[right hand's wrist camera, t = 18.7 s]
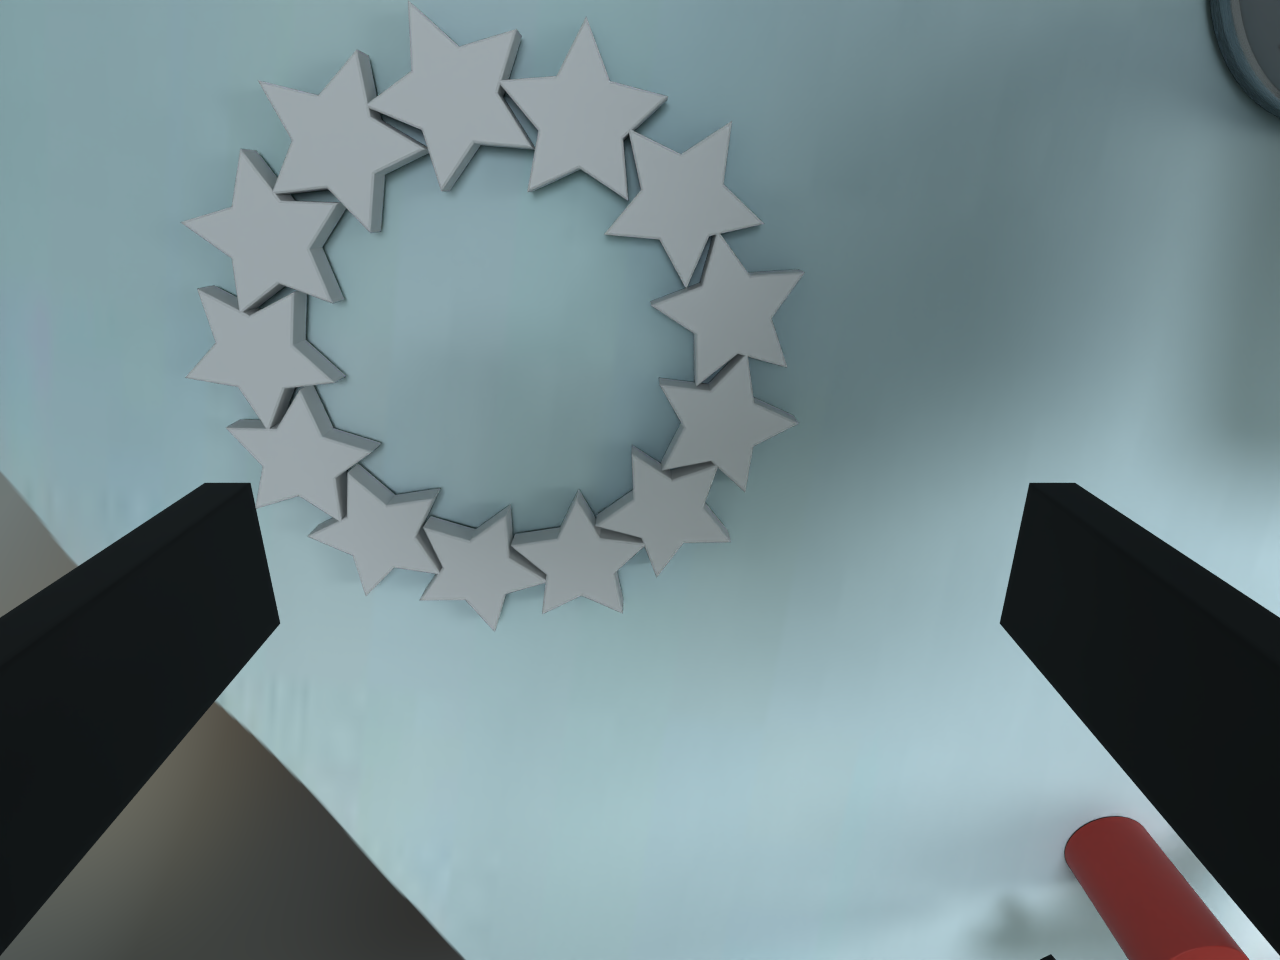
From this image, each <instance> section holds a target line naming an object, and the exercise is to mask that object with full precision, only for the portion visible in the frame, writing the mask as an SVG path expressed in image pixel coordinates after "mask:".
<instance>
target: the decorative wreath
mask: <svg viewBox="0 0 1280 960" xmlns="http://www.w3.org/2000/svg"><path fill="white" fill-rule="evenodd" d="M408 11H409V31H410V52H411V71H410V72H409V73H408V74H406V75H405V76H404V77H402V78H401V79H400V80H398V81H397V82H396V83H394V84H393V85H392V86H390V87H389V88H388V89H386V90H385V91H384V92H382V93H381V94H380V95H378V96H377V95H376V90H375V84H374V79H373V74H372V69H371V64H370V59H369V55H367V54H365V53H363V52H361V51H359V50H356V51H355V52H354V53H353V54H352V56H351V57H350V58H349V59H348V60H347V62H346V63H345V64H344V65H343V66H342V67H341V69H340V70H339V71H338V72H337V73H336V75H335V76H334V77H333V78H332V79H331V81H330V82H329V83H328V84H327V85H326V87H325V88H324V89H323V90H322V91H321V93H320V94H319V95H316V94H311V93H307V92H303V91H299V90H295V89H291V88H287V87H283V86H279V85H275V84H271V83H267V82H263V81H259V80H258V82H259V83H260V85H261V87H262V89H263V90H264V92H265V94H266V96H267V97H268V99H269V101H270V103H271V104H272V106H273V108H274V110H275V112H276V113H277V115H278V117H279V119H280V120H281V122H282V124H283V126H284V127H285V129H286V131H287V133H288V134H289V136H290V138H291V140H292V142H291V144H290V147H289V149H288V152H287V155H286V157H285V160H284V163H283V165H282V168H281V170H280V173H279V176H278V178H277V176H276V175H275V174H274V173H273V171H272V170H271V169H270V167H269V166H268V165H267V163H266V162H265V161H264V159H263V158H262V157H261V156H260V154H259V153H258V152H257V151H256V150H248V149H240V155H239V161H238V168H237V175H236V181H235V188H234V195H233V201H232V207H230V208H226V209H223V210H220V211H216V212H213V213H210V214H206V215H203V216H200V217H196V218H193V219H190V220H186V221H183V222H181V223H182V224H184V225H185V226H186V227H188V228H189V229H191V230H192V231H194V232H195V233H196V234H198V235H199V236H201V237H202V238H203V239H205V240H206V241H208V242H209V243H211V244H212V245H213V246H215V247H216V248H218V249H219V250H220V251H222V252H223V253H225V254H226V255H228V256H229V257H230V258H232V264H233V271H234V278H235V284H236V291H237V297H236V296H234V295H232V294H230V293H228V292H226V291H224V290H222V289H220V288H219V287H217V286H215V285H213V286H208V287H203V288H198V289H197V290H198V293H199V296H200V298H201V301H202V304H203V307H204V310H205V313H206V316H207V319H208V321H209V324H210V327H211V330H212V333H213V336H214V339H215V342H216V343H215V344H214V345H213V346H212V348H211V349H210V350H209V351H208V352H207V353H206V354H205V356H204V357H203V358H202V359H201V360H200V361H199V362H198V364H197V365H196V366H195V367H194V368H193V369H192V370H191V372H190V373H189V374H188V375H187V376H186V377H185V378H189V379H195V380H201V381H207V382H213V383H218V384H224V385H230V386H236V387H238V388H239V389H240V390H241V392H242V393H243V395H244V396H245V398H246V399H247V401H248V402H249V404H250V405H251V407H252V408H253V410H254V411H255V413H256V414H257V416H258V417H259V419H260V420H247V419H240V420H238V421H237V422H235V423H233V424H231V425H229V426H228V427H226V428H227V429H228V431H229V432H230V433H231V434H232V435H233V436H234V437H235V438H236V439H237V440H238V441H239V442H240V443H241V444H242V445H243V446H244V447H245V448H246V449H247V450H248V451H249V452H250V454H251V455H252V456H253V457H254V458H255V459H256V460H257V461H258V462H259V463H260V464H261V465H262V466H263V468H262V473H261V479H260V485H259V490H258V496H257V501H256V509H257V508H260V507H264V506H267V505H270V504H274V503H277V502H280V501H283V500H287V499H290V498H293V497H297V496H300V497H302V498H303V499H305V500H306V501H308V502H309V503H311V504H313V505H314V506H316V507H317V508H319V509H321V510H322V511H324V512H325V513H327V514H329V515H330V516H332V517H333V518H332V519H329V520H327V521H325V522H323V523H321V524H319V525H318V526H317V527H316V528H315V529H314V530H313V531H312V532H311V533H310V534H309V535H308V537H310V538H312V539H315V540H317V541H320V542H322V543H324V544H327V545H329V546H331V547H334V548H336V549H338V550H341V551H343V552H345V553H348V554H350V555H353V558H354V561H355V564H356V567H357V570H358V573H359V576H360V580H361V583H362V586H363V589H364V592H365V595H366V596H367V595H368V594H369V593H370V592H371V591H372V590H373V589H374V588H375V587H376V586H377V585H378V584H379V583H380V582H381V581H382V580H383V579H384V578H385V577H386V576H387V575H388V574H389V573H390V571H391V570H392V569H393V568H401V569H407V570H414V571H420V572H427V573H434V574H436V575H435V576H434V577H433V579H432V580H431V582H430V583H429V584H428V586H427V587H426V589H425V591H424V593H423V595H422V596H421V598H420V600H466V601H467V602H468V603H469V604H470V606H471V607H472V608H473V609H474V610H475V611H476V612H477V613H478V614H479V615H480V616H481V617H482V619H483V620H484V621H485V622H486V623H487V624H488V625H489V626H490V627H491V628H492V629H493V630H494V631H495V630H496V627H497V624H498V621H499V618H500V614H501V611H502V607H503V604H504V600H505V597H506V594H508V593H511V592H515V591H518V590H522V589H525V588H529V587H533V586H536V585H540V584H543V583H546V584H545V592H544V601H543V609H542V614H544V613H546V612H548V611H550V610H552V609H554V608H556V607H559V606H561V605H563V604H565V603H567V602H569V601H571V600H573V599H575V598H577V597H579V596H584V597H586V598H588V599H591V600H593V601H595V602H597V603H600V604H602V605H604V606H607V607H609V608H611V609H614V610H616V611H618V612H621V613H623V596H622V591H621V587H620V582H619V578H618V573H617V571H618V570H619V569H620V568H621V567H622V566H623V565H624V564H625V563H626V562H628V561H629V560H630V559H631V558H632V557H633V556H634V555H635V554H636V553H637V552H639V551H640V550H641V549H642V548H643V547H644V546H645V548H646V551H647V554H648V556H649V559H650V561H651V564H652V567H653V569H654V572H655V575H656V577H658V575H659V574H660V573H661V571H662V570H663V569H664V568H665V566H666V565H667V564H668V562H669V561H670V560H671V558H672V557H673V556H674V555H675V553H676V552H677V551H678V549H679V548H680V547H681V546H682V544H683V543H707V542H731V540H730V536H729V532H728V530H727V529H726V527H725V526H724V525H723V524H722V522H721V521H720V520H719V519H718V518H717V516H716V515H715V514H714V513H713V511H712V510H711V509H710V508H709V506H708V505H707V504H706V503H705V501H706V498H707V496H708V493H709V490H710V487H711V485H712V482H713V479H714V476H715V474H716V471H717V468H719V469H720V470H721V471H722V472H723V473H725V474H726V475H727V476H728V477H729V478H730V479H731V480H732V481H733V482H734V483H735V484H737V485H738V486H739V487H740V488H741V489H742V490H743V491H744V492H745V491H746V485H747V480H748V474H749V468H750V463H751V457H752V451H753V446H755V445H757V444H759V443H761V442H763V441H765V440H767V439H769V438H771V437H773V436H775V435H777V434H779V433H781V432H783V431H785V430H787V429H789V428H791V427H793V426H795V425H797V424H799V422H798V421H797V419H796V418H795V417H794V415H792V414H790V413H788V412H785V411H783V410H781V409H779V408H776V407H774V406H772V405H770V404H768V403H765V402H763V401H761V400H759V399H756V398H754V397H753V391H752V383H751V376H750V369H749V361H748V357H751V358H755V359H758V360H762V361H765V362H769V363H772V364H776V365H780V366H783V367H787V365H786V362H785V359H784V355H783V352H782V349H781V346H780V343H779V340H778V337H777V334H776V331H775V327H774V324H773V321H772V317H773V316H774V315H775V313H776V312H777V310H778V309H779V308H780V306H781V305H782V303H783V302H784V301H785V299H786V298H787V296H788V295H789V294H790V292H791V291H792V290H793V288H794V287H795V285H796V284H797V283H798V281H799V280H800V278H801V277H802V276H803V274H804V273H805V272H803V271H801V270H799V269H797V270H781V271H764V272H747V271H746V269H745V268H744V266H743V265H742V264H741V262H740V261H739V259H738V258H737V257H736V255H735V254H734V252H733V251H732V250H731V248H730V247H729V245H728V244H727V243H726V241H725V240H724V238H723V237H722V236H721V233H725V232H730V231H734V230H739V229H743V228H748V227H752V226H757V225H761V224H764V223H763V222H762V221H761V220H760V219H759V218H758V217H757V216H756V215H755V214H754V213H753V212H752V211H751V210H750V209H749V208H748V207H747V206H746V205H744V204H743V203H742V202H741V201H740V200H739V199H738V198H737V197H736V196H735V195H734V194H733V193H732V192H731V191H730V190H729V189H728V188H727V187H726V186H725V185H724V177H725V169H726V162H727V154H728V147H729V139H730V132H731V125H732V121H731V122H730V123H728V124H727V125H725V126H723V127H722V128H720V129H719V130H717V131H716V132H714V133H713V134H711V135H710V136H708V137H707V138H705V139H704V140H702V141H700V142H699V143H697V144H696V145H694V146H693V147H691V148H690V149H688V150H687V151H685V152H684V153H682V154H680V153H678V152H675V151H673V150H671V149H669V148H667V147H665V146H663V145H661V144H659V143H657V142H655V141H653V140H651V139H649V138H647V137H645V136H643V135H641V134H639V133H637V132H635V130H636V129H637V128H638V127H639V126H640V125H641V124H642V123H643V122H644V121H645V120H646V119H648V118H649V117H650V116H651V115H652V114H653V113H654V112H655V111H656V110H657V109H658V108H659V107H660V106H662V105H663V104H664V103H665V102H666V101H667V98H668V96H665V95H661V94H657V93H653V92H650V91H646V90H642V89H638V88H635V87H631V86H627V85H623V84H619V83H616V82H612V81H610V80H609V77H608V74H607V71H606V69H605V66H604V63H603V61H602V58H601V55H600V52H599V50H598V47H597V44H596V41H595V39H594V36H593V33H592V31H591V28H590V25H589V22H588V20H587V17H586V18H585V20H584V22H583V24H582V26H581V28H580V30H579V32H578V34H577V36H576V38H575V40H574V42H573V44H572V46H571V48H570V50H569V52H568V54H567V56H566V58H565V60H564V62H563V64H562V66H561V68H560V70H559V72H558V74H557V76H551V77H538V78H524V79H511V80H509V77H510V74H511V71H512V67H513V64H514V61H515V58H516V54H517V51H518V48H519V44H520V41H521V38H522V35H521V34H520V33H519V31H518V30H517V29H515V30H512V31H509V32H505V33H502V34H499V35H495V36H492V37H489V38H486V39H482V40H479V41H476V42H472V43H469V44H466V45H463V46H458V45H457V44H456V43H455V42H454V41H453V40H452V39H451V38H450V37H448V36H447V35H446V34H445V33H444V32H443V31H442V30H441V29H440V28H439V27H437V26H436V25H435V24H434V23H433V22H432V21H431V20H430V19H429V18H428V17H426V16H425V15H424V14H423V13H422V12H421V11H420V10H419V9H418V8H416V7H415V6H414V5H413V4H412V3H411V2H409V1H408ZM505 91H506V92H507V93H508V95H509V96H510V97H511V98H512V99H513V101H514V102H515V103H516V104H517V105H518V107H519V108H520V109H521V110H522V111H523V113H524V114H525V115H526V116H527V118H528V119H529V120H530V121H531V122H532V124H533V125H534V126H535V127H536V128H537V130H538V136H537V141H536V147H534V145H533V144H532V142H531V140H530V139H529V137H528V136H527V134H526V132H525V131H524V129H523V128H522V126H521V124H520V123H519V121H518V120H517V118H516V116H515V115H514V113H513V112H512V110H511V108H510V107H509V105H508V104H507V102H506V101H505V99H504V93H505ZM380 113H383V114H385V115H387V116H390V117H392V118H394V119H397V120H399V121H402V122H404V123H406V124H409V125H411V126H414V127H416V128H418V129H421V130H422V132H423V135H424V138H425V141H426V144H427V147H426V146H425V145H423V144H421V143H420V142H418V141H416V140H414V139H413V138H411V137H409V136H408V135H406V134H404V133H403V132H401V131H399V130H398V129H396V128H394V127H393V126H391V125H389V124H387V123H386V122H384V121H382V120H381V115H380ZM628 136H630V141H631V145H632V150H633V155H634V159H635V164H636V169H637V173H638V178H639V182H640V187H641V191H640V192H639V193H638V194H637V195H636V197H635V198H634V199H633V200H632V201H631V203H630V204H629V205H628V206H627V207H626V209H625V210H624V211H623V212H622V213H621V215H620V216H619V217H618V218H617V219H616V221H615V222H614V223H613V224H612V225H611V227H610V228H609V229H608V230H607V231H606V233H605V234H604V235H615V236H626V237H638V238H649V239H659V240H660V241H661V243H662V245H663V247H664V249H665V251H666V252H667V254H668V256H669V258H670V260H671V262H672V264H673V265H674V267H675V269H676V271H677V273H678V275H679V276H680V278H681V280H682V282H683V284H684V286H685V288H684V289H682V290H679V291H676V292H674V293H671V294H668V295H666V296H663V297H661V298H658V299H655V300H653V301H651V306H653V307H654V308H656V309H657V310H659V311H660V312H662V313H663V314H665V315H666V316H668V317H669V318H671V319H673V320H674V321H676V322H677V323H679V324H680V325H682V326H683V327H685V328H686V329H688V330H689V331H691V332H692V333H694V380H695V382H689V381H681V380H673V379H665V378H659V385H660V386H661V388H662V390H663V392H664V393H665V395H666V397H667V399H668V400H669V402H670V404H671V406H672V407H673V409H674V411H675V412H676V414H677V416H678V418H679V419H680V421H681V423H680V425H679V427H678V429H677V431H676V433H675V435H674V437H673V439H672V441H671V443H670V445H669V447H668V449H667V451H666V453H665V455H664V457H663V458H662V460H661V463H659V462H658V461H656V460H655V459H653V458H652V457H650V456H649V455H647V454H646V453H644V452H643V451H641V450H640V449H638V448H637V447H635V446H634V445H632V474H633V490H632V491H630V492H629V493H627V494H626V495H624V496H623V497H622V498H620V499H619V500H617V501H616V502H614V503H613V504H612V505H610V506H609V507H607V508H606V509H605V510H603V511H602V512H600V513H599V514H597V518H596V517H595V516H594V514H593V512H592V510H591V509H590V507H589V505H588V504H587V502H586V500H585V499H584V497H583V495H582V494H581V492H580V490H579V489H578V491H577V493H576V495H575V497H574V499H573V502H572V504H571V506H570V508H569V510H568V512H567V514H566V516H565V518H564V520H563V522H562V524H561V526H560V527H558V528H552V529H545V530H538V531H532V532H525V533H518V534H515V536H514V538H513V532H512V516H511V504H510V505H509V506H507V507H506V508H504V509H503V510H502V511H500V512H499V513H497V514H496V515H495V516H493V517H492V518H491V519H489V520H488V521H486V522H485V523H484V524H482V525H481V526H479V527H478V528H477V529H473V528H470V527H466V526H463V525H459V524H456V523H453V522H449V521H446V520H442V519H439V518H435V517H432V516H430V517H429V519H428V520H427V522H426V524H425V525H424V523H425V521H426V518H427V516H428V514H429V512H430V510H431V508H432V506H433V503H434V501H435V499H436V497H437V495H438V493H439V491H440V488H437V489H431V490H424V491H417V492H410V493H404V494H397V495H395V494H394V493H392V492H391V491H390V490H389V489H388V488H387V487H385V486H384V485H383V484H382V483H381V482H379V481H378V480H377V479H376V478H375V477H374V476H372V475H371V474H370V473H369V472H368V471H367V470H365V469H364V468H363V467H362V466H361V465H359V464H358V463H357V462H359V461H360V460H362V459H363V458H364V457H366V456H367V455H369V454H370V453H371V452H373V451H374V450H375V449H376V448H377V447H378V446H379V445H380V444H381V443H380V442H377V441H374V440H370V439H367V438H364V437H361V436H357V435H354V434H351V433H348V432H344V431H341V430H338V429H335V428H333V426H332V424H331V422H330V419H329V417H328V415H327V413H326V411H325V409H324V407H323V404H322V402H321V400H320V398H319V396H318V394H317V392H316V389H315V387H314V385H319V384H327V383H335V382H337V381H338V380H340V379H342V378H343V377H345V376H346V375H345V374H343V373H342V372H341V371H340V370H339V369H338V368H337V367H336V366H334V365H333V364H332V363H331V362H330V361H329V360H328V359H327V358H326V357H324V356H323V355H322V354H321V353H320V352H319V351H318V350H317V349H315V348H314V347H313V346H312V345H311V344H310V343H309V342H308V341H307V340H306V310H307V294H309V295H311V296H314V297H317V298H319V299H322V300H325V301H328V302H330V303H336V302H338V301H341V300H344V297H343V295H342V293H341V290H340V288H339V285H338V283H337V281H336V278H335V276H334V274H333V271H332V269H331V267H330V264H329V262H328V260H327V257H326V255H325V252H324V250H323V248H322V247H323V245H324V243H325V242H326V240H327V239H328V237H329V235H330V234H331V232H332V231H333V229H334V227H335V226H336V224H337V223H338V221H339V219H340V218H341V216H342V214H343V213H344V211H345V210H346V208H347V209H348V210H349V211H350V212H351V213H352V214H353V215H354V216H355V217H356V219H357V220H358V221H359V222H360V223H361V224H362V225H363V226H364V227H365V228H366V229H367V230H368V231H369V232H370V233H374V232H381V224H382V210H383V197H384V183H385V174H387V173H389V172H391V171H393V170H395V169H398V168H400V167H402V166H404V165H406V164H408V163H410V162H412V161H414V160H416V159H418V158H420V157H422V156H424V155H426V154H428V153H429V154H430V157H431V160H432V163H433V167H434V170H435V173H436V176H437V179H438V182H439V186H440V189H441V191H450V190H451V188H452V187H453V185H454V184H455V182H456V181H457V179H458V178H459V176H460V175H461V173H462V172H463V170H464V169H465V167H466V166H467V165H468V163H469V162H470V160H471V159H472V157H473V156H474V154H475V153H476V151H477V150H478V148H479V147H480V145H485V146H497V147H508V148H520V149H532V150H535V152H534V158H533V163H532V169H531V174H530V180H529V185H528V191H527V192H533V191H535V190H537V189H539V188H542V187H544V186H546V185H548V184H550V183H552V182H555V181H557V180H559V179H561V178H563V177H565V176H568V175H570V174H572V173H574V172H576V171H578V170H580V169H582V170H583V171H585V172H586V173H588V174H589V175H590V176H592V177H593V178H595V179H596V180H598V181H599V182H601V183H602V184H604V185H605V186H607V187H608V188H610V189H611V190H613V191H614V192H616V193H617V194H619V195H620V196H622V197H623V198H625V199H626V200H628V189H627V177H626V165H625V153H624V140H625V139H626V138H627V137H628ZM327 189H329V190H330V191H331V192H332V193H333V195H334V196H335V197H336V198H337V199H338V200H339V201H340V202H316V201H295V200H294V199H293V197H292V196H291V195H290V194H294V193H302V192H310V191H319V190H327ZM712 235H713V237H712V241H711V244H710V248H709V251H708V255H707V258H706V262H705V265H704V269H703V273H702V276H701V280H700V283H697V284H695V285H692V286H689V287H687V286H688V284H689V281H690V279H691V277H692V274H693V272H694V270H695V268H696V265H697V263H698V261H699V258H700V256H701V254H702V251H703V249H704V247H705V244H706V242H707V240H708V238H709V236H712ZM285 286H287V287H290V288H293V289H295V290H298V291H296V292H293V293H291V294H289V295H288V296H286V297H284V298H282V299H280V300H278V301H276V302H274V303H273V304H271V305H269V306H267V307H265V308H263V309H259V308H258V307H259V306H260V305H262V304H263V303H264V302H266V301H267V300H268V299H269V298H271V297H272V296H273V295H274V294H276V293H277V292H278V291H280V290H281V289H282V288H283V287H285ZM731 359H732V360H731ZM729 360H731V361H730V362H729V363H728V364H727V365H726V366H725V367H724V368H723V369H722V370H721V371H720V372H719V373H718V374H717V375H716V376H715V377H714V378H713V379H712V380H711V381H710V382H709V383H708V384H705V383H701V382H703V381H704V380H705V379H706V378H708V377H709V376H710V375H711V374H713V373H714V372H715V371H717V370H718V369H719V368H720V367H722V366H723V365H724V364H725V363H727V362H728V361H729ZM301 386H305V387H303V388H301V389H300V390H299V392H298V393H297V395H296V397H295V398H294V400H293V402H292V404H291V405H290V407H289V409H288V410H287V408H288V405H289V403H290V400H291V397H292V395H293V392H294V389H295V387H301ZM286 411H287V412H286ZM285 413H286V414H285ZM356 463H357V464H356ZM354 464H356V465H355V466H354V467H353V468H352V469H351V470H350V471H349V472H348V477H347V473H346V470H347V469H349V468H350V467H352V466H353V465H354ZM677 467H679V468H677ZM672 468H676V469H673V470H670V469H672ZM423 525H424V526H423Z"/></svg>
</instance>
